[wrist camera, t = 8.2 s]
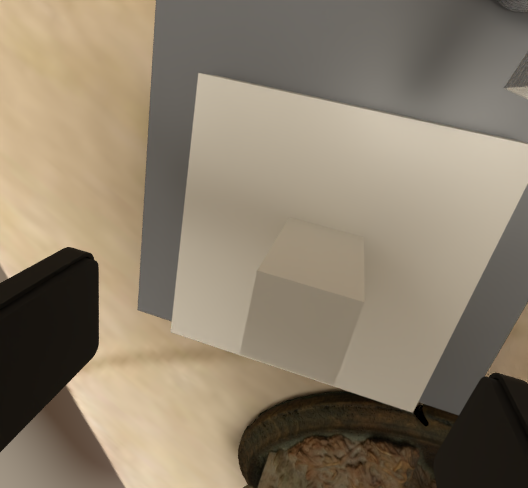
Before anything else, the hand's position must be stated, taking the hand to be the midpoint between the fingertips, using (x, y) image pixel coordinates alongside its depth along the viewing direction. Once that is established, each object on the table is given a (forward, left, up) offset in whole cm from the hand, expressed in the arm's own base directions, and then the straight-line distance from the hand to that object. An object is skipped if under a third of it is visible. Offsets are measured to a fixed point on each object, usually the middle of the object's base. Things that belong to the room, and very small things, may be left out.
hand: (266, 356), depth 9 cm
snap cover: (0, -1, -9) cm, 9 cm away
